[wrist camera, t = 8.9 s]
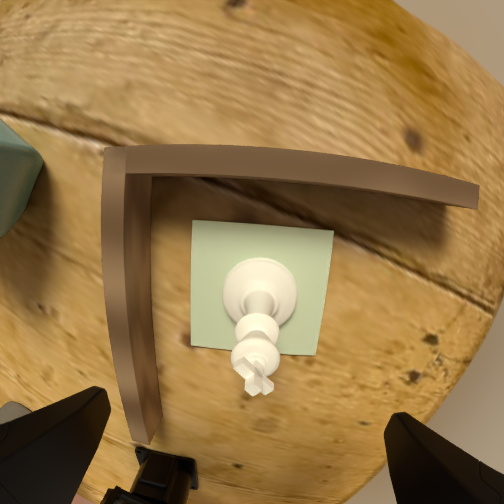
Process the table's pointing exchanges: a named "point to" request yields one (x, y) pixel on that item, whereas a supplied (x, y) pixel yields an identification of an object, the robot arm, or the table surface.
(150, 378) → the corner wall
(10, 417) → the canister
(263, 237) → the pad
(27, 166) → the flower pot
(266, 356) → the chess piece
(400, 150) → the table surface
